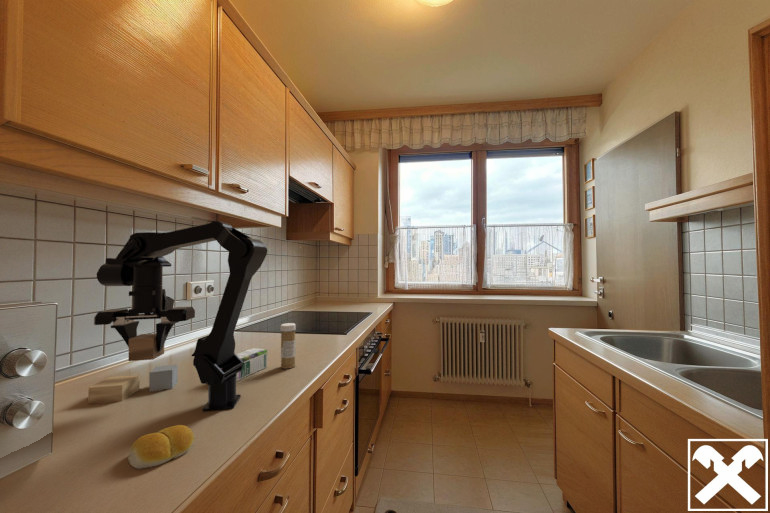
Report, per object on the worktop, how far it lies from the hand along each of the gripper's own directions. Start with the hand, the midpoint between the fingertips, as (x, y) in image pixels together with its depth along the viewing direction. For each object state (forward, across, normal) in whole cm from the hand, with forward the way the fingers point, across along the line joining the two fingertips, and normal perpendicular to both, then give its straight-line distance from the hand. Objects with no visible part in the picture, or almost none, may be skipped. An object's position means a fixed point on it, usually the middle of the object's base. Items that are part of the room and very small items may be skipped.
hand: (147, 351), depth 73 cm
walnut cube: (+1, 0, 0) cm, 1 cm away
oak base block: (+12, +10, -6) cm, 17 cm away
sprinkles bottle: (+12, -30, -19) cm, 38 cm away
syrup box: (+9, -21, -22) cm, 32 cm away
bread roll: (+12, -14, +23) cm, 30 cm away
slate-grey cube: (+12, +1, -10) cm, 16 cm away
